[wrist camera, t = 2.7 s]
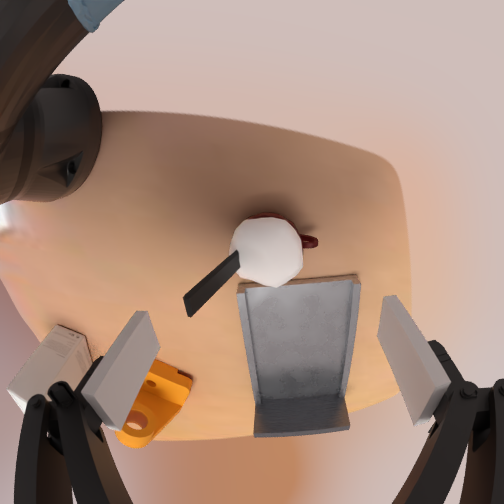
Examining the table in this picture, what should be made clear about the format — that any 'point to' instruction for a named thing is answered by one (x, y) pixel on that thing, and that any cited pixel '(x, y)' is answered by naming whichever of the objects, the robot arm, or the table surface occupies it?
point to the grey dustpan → (300, 352)
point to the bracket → (155, 404)
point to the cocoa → (256, 257)
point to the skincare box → (52, 365)
